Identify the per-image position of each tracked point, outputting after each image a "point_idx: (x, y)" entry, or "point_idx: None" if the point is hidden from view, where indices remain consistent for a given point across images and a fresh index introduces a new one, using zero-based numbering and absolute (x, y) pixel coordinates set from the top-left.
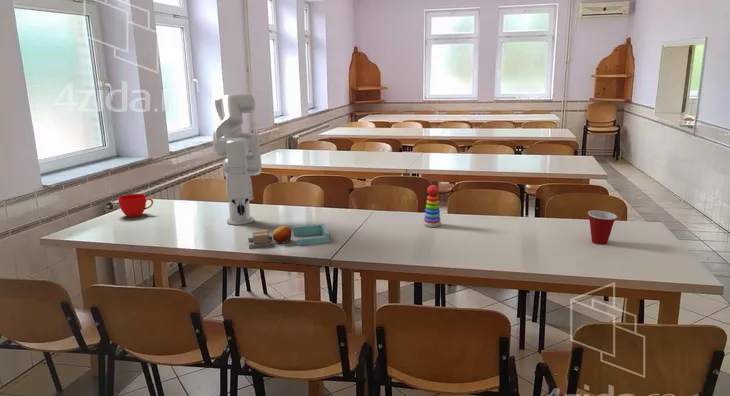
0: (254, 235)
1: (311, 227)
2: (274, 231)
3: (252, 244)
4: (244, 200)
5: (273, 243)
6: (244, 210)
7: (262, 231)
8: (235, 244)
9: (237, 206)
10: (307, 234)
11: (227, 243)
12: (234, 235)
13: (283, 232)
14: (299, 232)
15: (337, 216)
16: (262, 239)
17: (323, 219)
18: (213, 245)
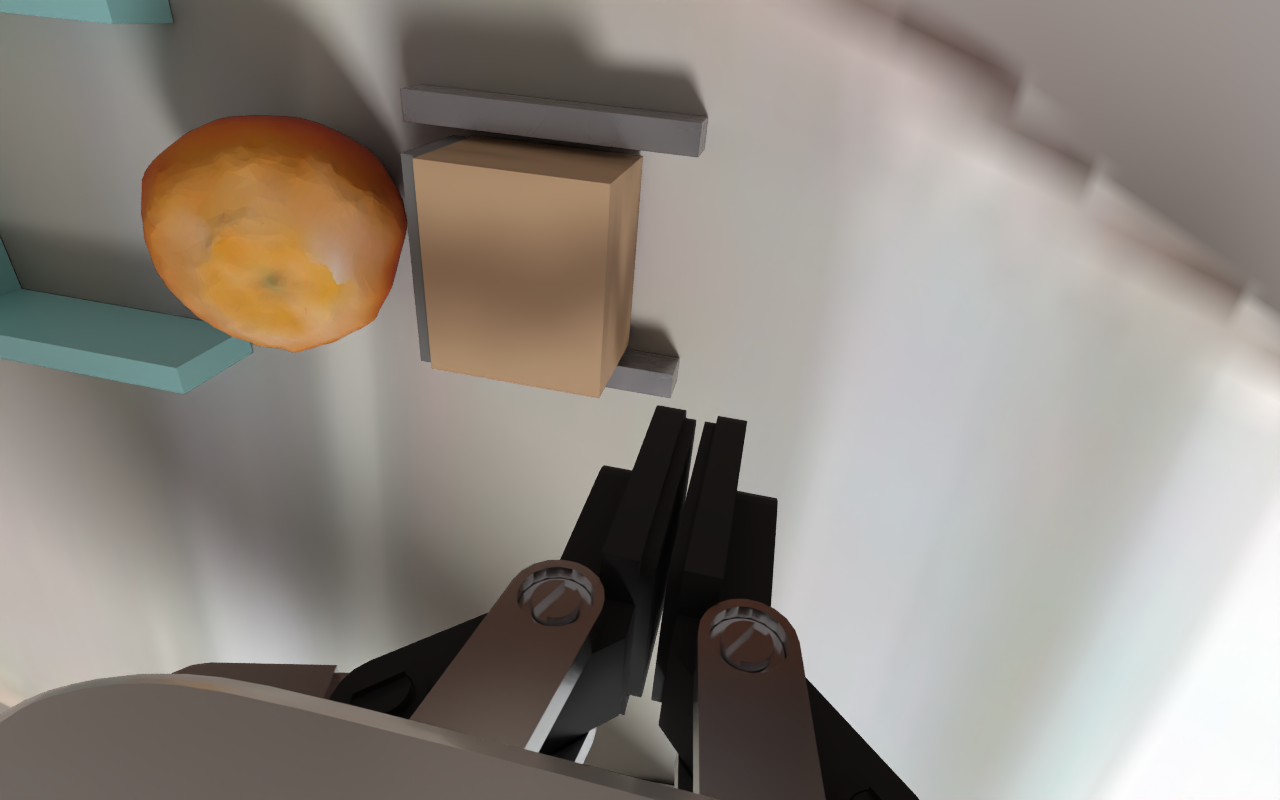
0: (590, 204)
1: (29, 329)
2: (331, 238)
3: (654, 126)
4: (461, 692)
5: (408, 88)
6: (598, 489)
7: (482, 334)
8: (828, 345)
9: (753, 615)
10: (129, 310)
11: (902, 417)
12: (775, 602)
13: (212, 135)
14: (173, 334)
15: (21, 614)
16: (511, 157)
17: (98, 605)
18: (1071, 423)
